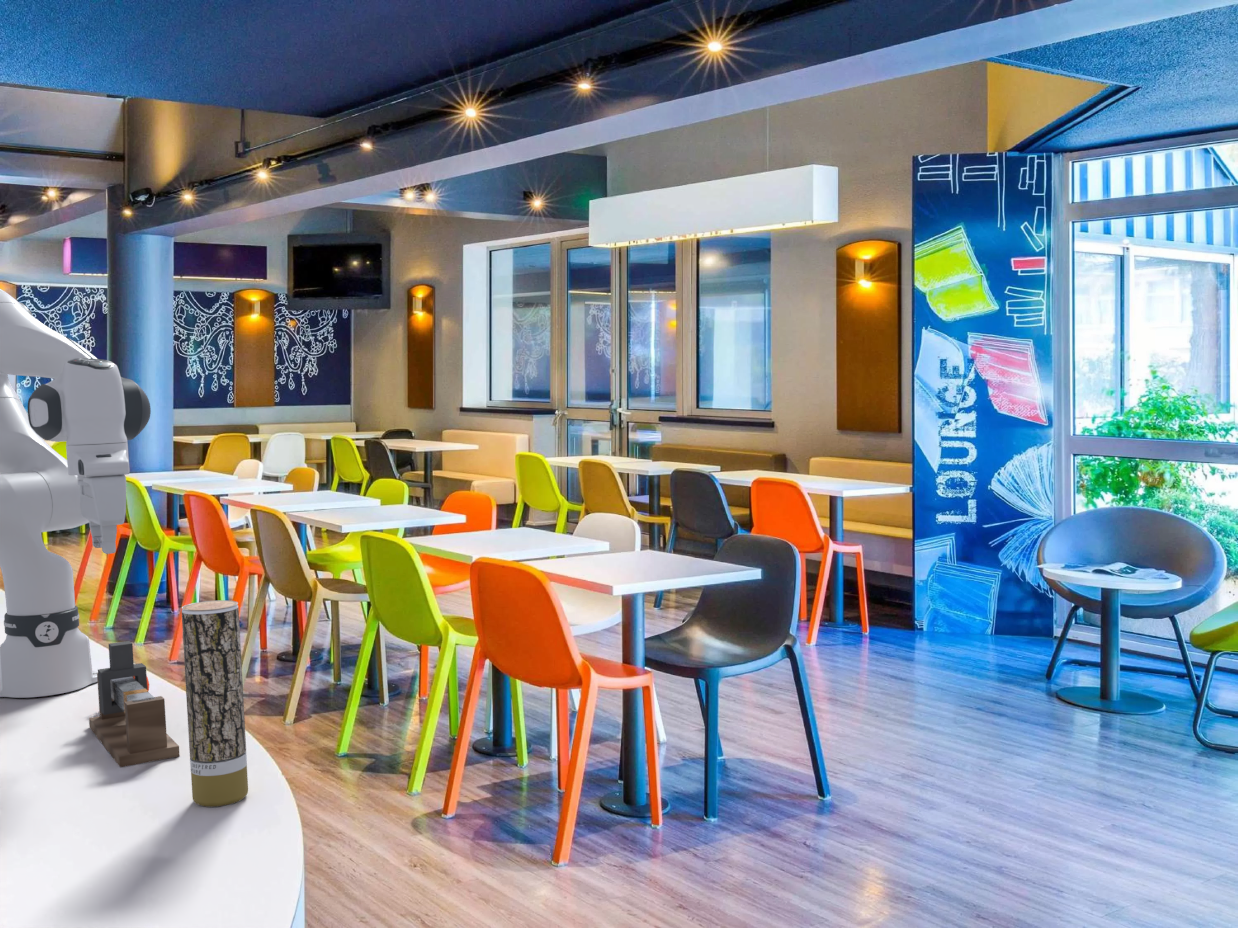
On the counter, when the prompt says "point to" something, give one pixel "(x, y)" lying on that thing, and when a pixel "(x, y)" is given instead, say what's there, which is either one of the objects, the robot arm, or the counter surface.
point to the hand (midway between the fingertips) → (104, 550)
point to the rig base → (135, 732)
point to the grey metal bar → (128, 691)
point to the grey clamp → (118, 674)
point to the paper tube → (215, 702)
